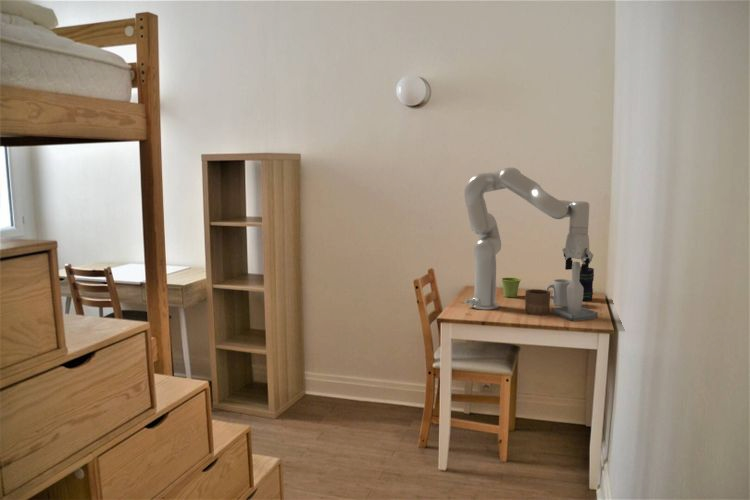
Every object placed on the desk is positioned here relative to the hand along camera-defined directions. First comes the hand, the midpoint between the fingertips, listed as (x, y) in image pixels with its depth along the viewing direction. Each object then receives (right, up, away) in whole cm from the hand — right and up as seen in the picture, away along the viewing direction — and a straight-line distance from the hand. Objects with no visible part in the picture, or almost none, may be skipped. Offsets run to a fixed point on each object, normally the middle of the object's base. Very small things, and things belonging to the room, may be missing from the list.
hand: (576, 271), depth 249 cm
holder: (-14, -18, +9) cm, 25 cm away
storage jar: (+14, -15, +34) cm, 39 cm away
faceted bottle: (0, -18, +3) cm, 18 cm away
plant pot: (-19, -14, +40) cm, 46 cm away
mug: (0, -16, +24) cm, 29 cm away
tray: (0, -19, +3) cm, 19 cm away
